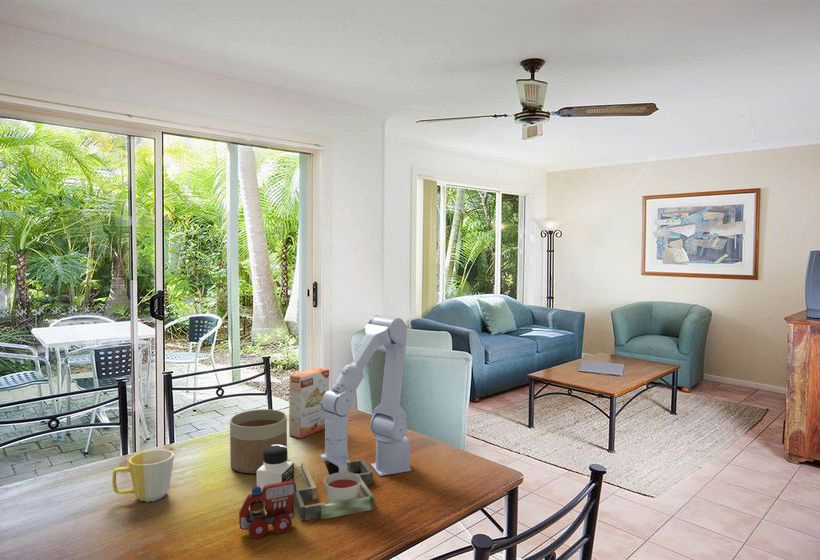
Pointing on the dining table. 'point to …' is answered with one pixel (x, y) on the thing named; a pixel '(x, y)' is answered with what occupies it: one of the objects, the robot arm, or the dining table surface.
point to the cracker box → (307, 401)
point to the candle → (342, 486)
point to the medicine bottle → (275, 466)
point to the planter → (255, 437)
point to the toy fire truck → (268, 509)
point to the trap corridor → (338, 507)
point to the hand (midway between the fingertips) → (336, 488)
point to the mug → (148, 474)
